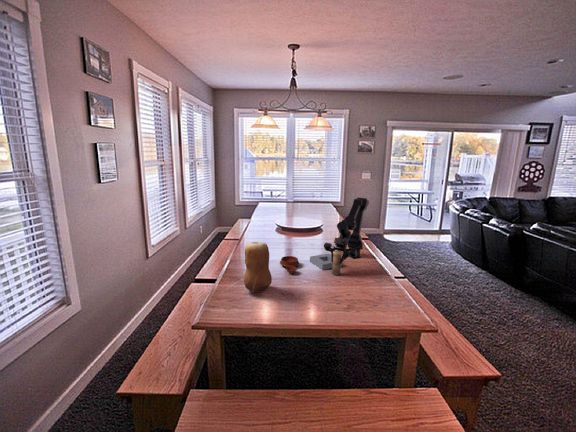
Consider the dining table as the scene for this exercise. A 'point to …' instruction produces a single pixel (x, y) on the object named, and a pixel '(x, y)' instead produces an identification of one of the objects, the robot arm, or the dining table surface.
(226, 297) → the dining table surface
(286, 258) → the pottery
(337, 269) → the tan wooden cylinder
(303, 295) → the dining table surface
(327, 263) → the socket block
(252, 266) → the butternut squash
